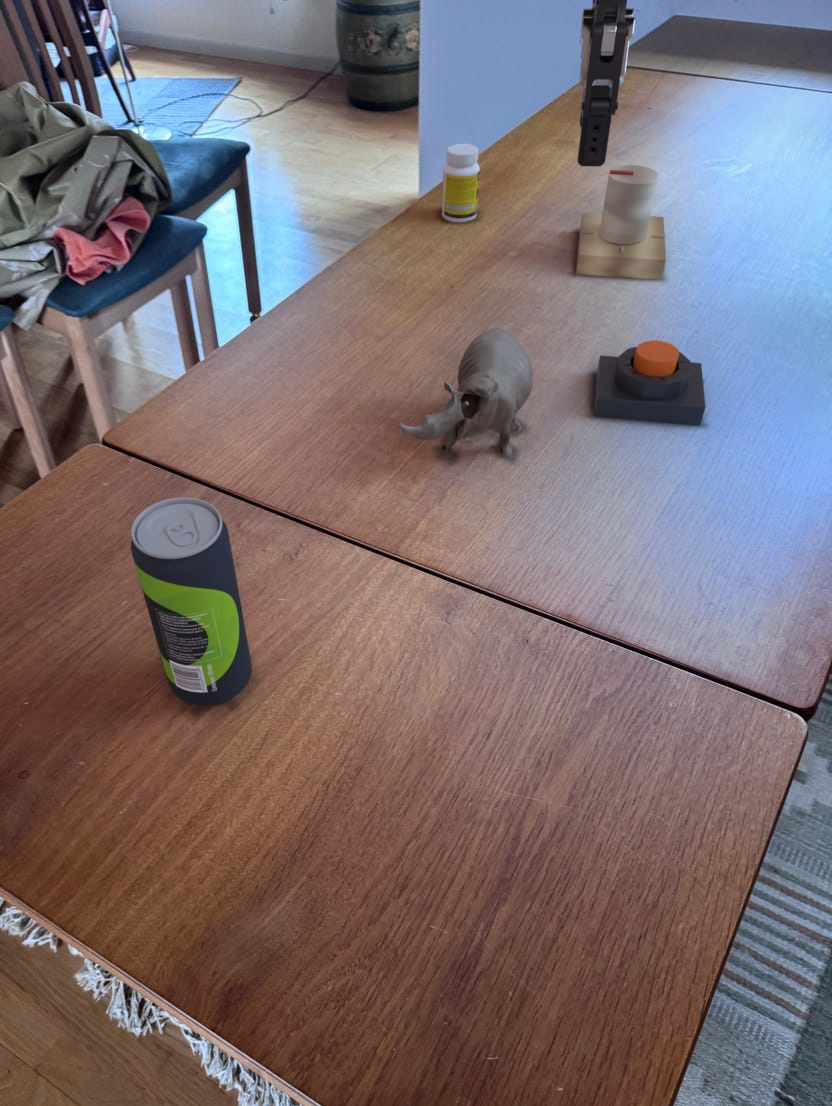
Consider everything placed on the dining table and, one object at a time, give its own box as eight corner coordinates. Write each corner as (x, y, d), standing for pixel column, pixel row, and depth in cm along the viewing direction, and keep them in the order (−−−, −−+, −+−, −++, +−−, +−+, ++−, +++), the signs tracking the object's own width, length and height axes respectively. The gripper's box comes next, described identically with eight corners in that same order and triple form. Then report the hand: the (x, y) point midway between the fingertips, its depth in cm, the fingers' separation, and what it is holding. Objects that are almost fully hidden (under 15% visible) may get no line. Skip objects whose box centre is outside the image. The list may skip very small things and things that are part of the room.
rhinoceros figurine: (568, 376, 89) (535, 294, 76) (519, 504, 89) (476, 444, 75) (496, 362, 93) (452, 282, 80) (448, 486, 92) (395, 425, 79)
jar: (645, 226, 112) (658, 163, 107) (646, 246, 108) (659, 182, 103) (599, 223, 113) (609, 161, 107) (598, 243, 109) (609, 179, 104)
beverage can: (268, 685, 67) (244, 531, 56) (195, 726, 65) (154, 573, 54) (226, 636, 71) (196, 482, 60) (155, 673, 68) (109, 519, 57)
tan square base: (659, 236, 116) (663, 215, 114) (661, 280, 108) (666, 258, 106) (579, 232, 117) (582, 211, 115) (575, 275, 109) (579, 253, 107)
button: (674, 358, 89) (678, 341, 88) (675, 379, 87) (680, 363, 85) (632, 354, 90) (636, 338, 89) (632, 376, 87) (636, 360, 86)
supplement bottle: (482, 220, 121) (487, 152, 114) (448, 225, 120) (451, 158, 114) (468, 206, 124) (472, 139, 118) (436, 211, 123) (438, 145, 117)
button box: (696, 382, 93) (706, 346, 90) (699, 426, 87) (710, 390, 85) (596, 374, 94) (602, 338, 91) (594, 417, 89) (601, 381, 86)
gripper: (682, -77, 60) (638, 179, 72) (672, -116, 69) (635, 116, 81) (567, -74, 61) (542, 178, 73) (572, -113, 71) (550, 116, 83)
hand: (591, 145), depth 77 cm, fingers open, 8 cm apart
